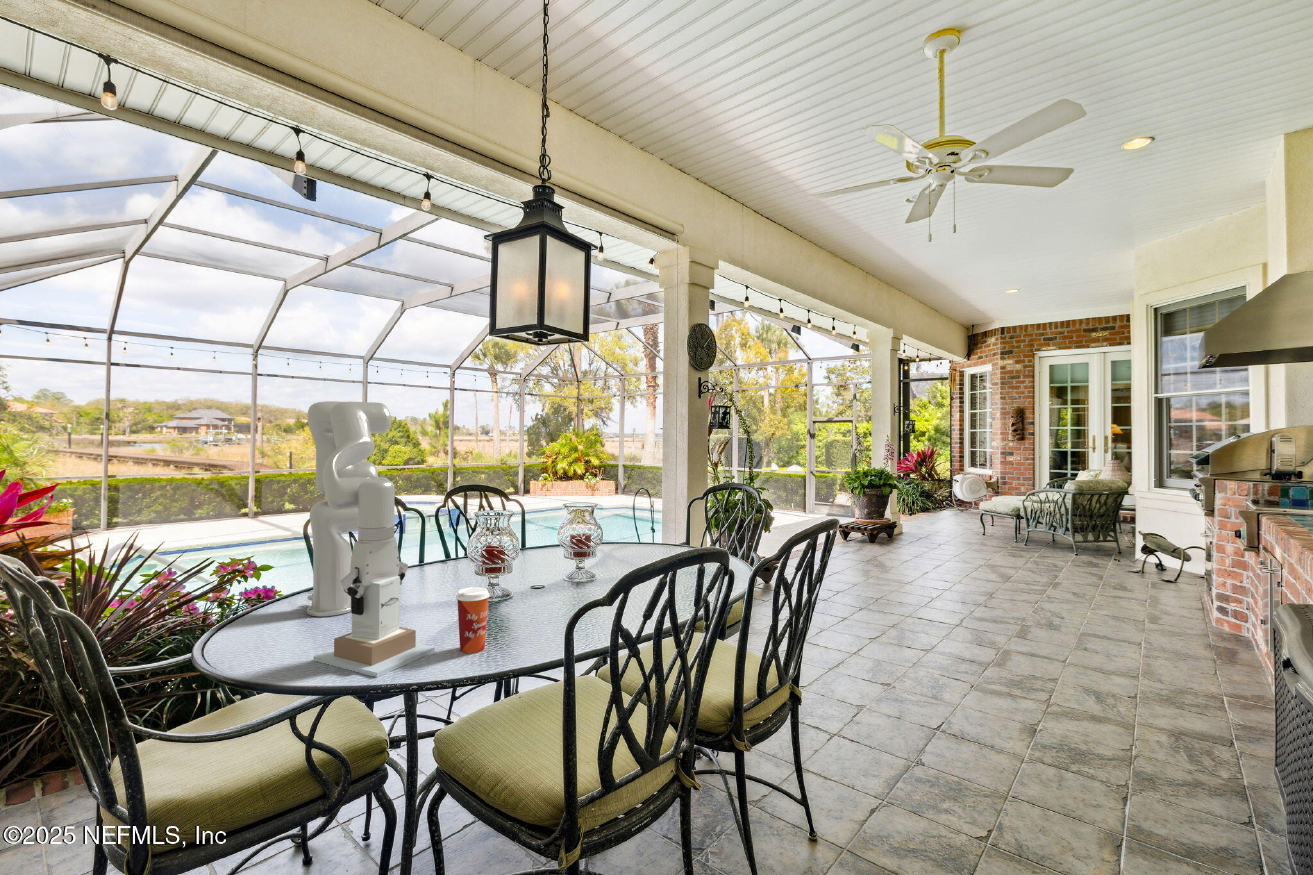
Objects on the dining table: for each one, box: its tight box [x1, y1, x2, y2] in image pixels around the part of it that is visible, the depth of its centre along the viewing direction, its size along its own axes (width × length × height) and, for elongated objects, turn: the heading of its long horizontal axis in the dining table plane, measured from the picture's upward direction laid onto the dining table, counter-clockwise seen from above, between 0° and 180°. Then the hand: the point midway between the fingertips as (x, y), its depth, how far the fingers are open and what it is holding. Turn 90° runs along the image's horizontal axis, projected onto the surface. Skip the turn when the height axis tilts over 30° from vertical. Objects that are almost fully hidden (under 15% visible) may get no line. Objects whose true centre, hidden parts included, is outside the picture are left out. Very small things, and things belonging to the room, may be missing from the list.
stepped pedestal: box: [313, 626, 436, 678], centre depth 133 cm, size 20×16×5 cm
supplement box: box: [351, 576, 401, 639], centre depth 133 cm, size 7×7×13 cm
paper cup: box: [455, 586, 490, 655], centre depth 138 cm, size 8×8×14 cm
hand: (375, 607), depth 133 cm, fingers open, 9 cm apart
